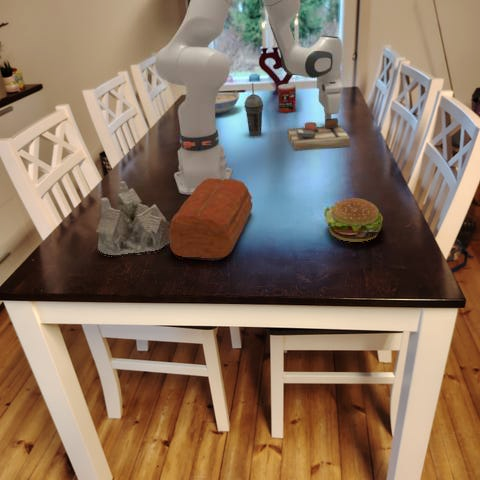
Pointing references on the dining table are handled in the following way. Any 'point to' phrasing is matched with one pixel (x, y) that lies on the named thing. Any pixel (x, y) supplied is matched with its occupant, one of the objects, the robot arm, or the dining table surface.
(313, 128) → the brick-red push button
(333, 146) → the control board
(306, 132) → the charcoal rocker switch
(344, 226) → the food
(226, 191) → the bread
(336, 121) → the walnut slider knob
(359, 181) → the dining table surface
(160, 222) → the ceramic cottage
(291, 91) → the canned food
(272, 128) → the dining table surface
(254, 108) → the beverage cup
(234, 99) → the ramen bowl
